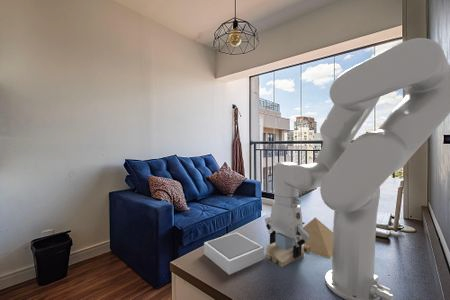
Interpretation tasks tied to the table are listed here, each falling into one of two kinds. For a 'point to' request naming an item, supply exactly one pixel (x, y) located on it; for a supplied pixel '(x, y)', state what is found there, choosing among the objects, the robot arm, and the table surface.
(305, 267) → the table surface
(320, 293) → the table surface
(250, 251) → the white square tray
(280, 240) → the light blue block
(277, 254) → the pallet
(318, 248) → the model pyramid
